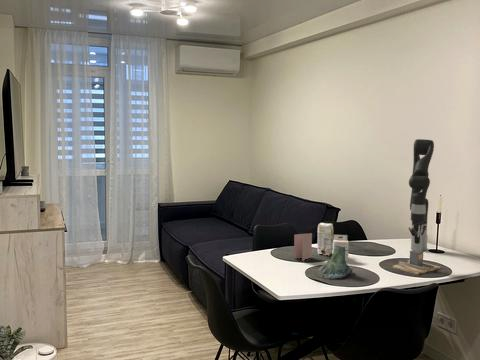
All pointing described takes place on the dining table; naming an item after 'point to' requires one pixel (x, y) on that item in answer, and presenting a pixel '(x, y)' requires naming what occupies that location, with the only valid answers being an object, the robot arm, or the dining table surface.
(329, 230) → the juice carton
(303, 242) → the greeting card
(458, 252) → the dining table surface
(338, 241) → the ink cartridge box
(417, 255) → the module
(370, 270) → the dining table surface
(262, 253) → the dining table surface
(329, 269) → the tree stump
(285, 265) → the dining table surface
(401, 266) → the rail board
